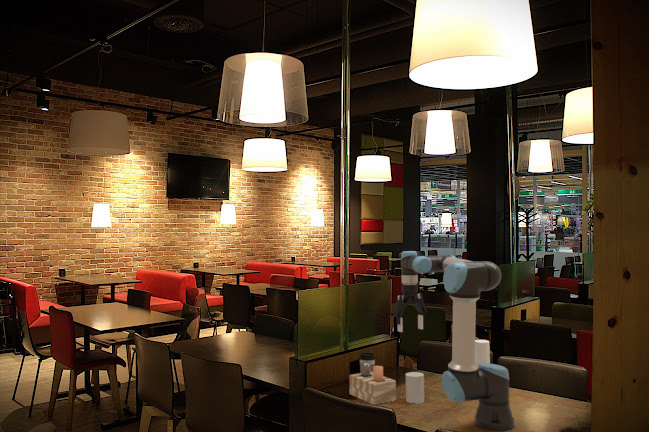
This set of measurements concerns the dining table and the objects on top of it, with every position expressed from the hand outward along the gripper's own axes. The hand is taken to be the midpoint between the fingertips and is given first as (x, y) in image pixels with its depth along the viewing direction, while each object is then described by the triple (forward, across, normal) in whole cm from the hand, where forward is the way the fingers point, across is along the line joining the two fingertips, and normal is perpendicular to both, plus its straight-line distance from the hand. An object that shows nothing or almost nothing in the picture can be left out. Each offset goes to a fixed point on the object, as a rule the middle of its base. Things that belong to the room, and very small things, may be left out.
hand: (410, 330), depth 260 cm
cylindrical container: (+30, -27, +18) cm, 45 cm away
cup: (+30, +5, +8) cm, 32 cm away
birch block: (+30, +18, -7) cm, 36 cm away
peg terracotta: (+24, +18, -2) cm, 30 cm away
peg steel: (+24, +17, -12) cm, 32 cm away
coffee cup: (+30, +5, -28) cm, 42 cm away
